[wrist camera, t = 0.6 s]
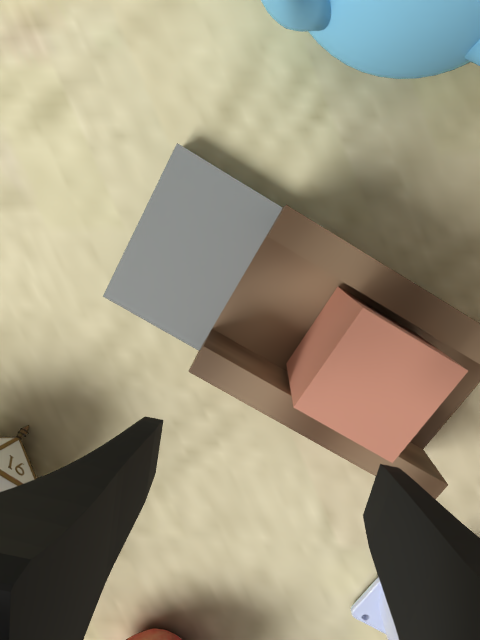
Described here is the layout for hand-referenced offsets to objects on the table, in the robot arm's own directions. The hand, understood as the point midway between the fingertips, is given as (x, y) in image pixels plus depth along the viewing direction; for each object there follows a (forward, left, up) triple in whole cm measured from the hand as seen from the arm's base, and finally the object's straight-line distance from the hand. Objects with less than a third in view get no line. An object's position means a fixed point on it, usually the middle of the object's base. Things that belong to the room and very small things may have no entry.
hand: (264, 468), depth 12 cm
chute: (-3, -3, -10) cm, 11 cm away
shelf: (+7, -3, -10) cm, 12 cm away
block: (-3, -3, -9) cm, 10 cm away
